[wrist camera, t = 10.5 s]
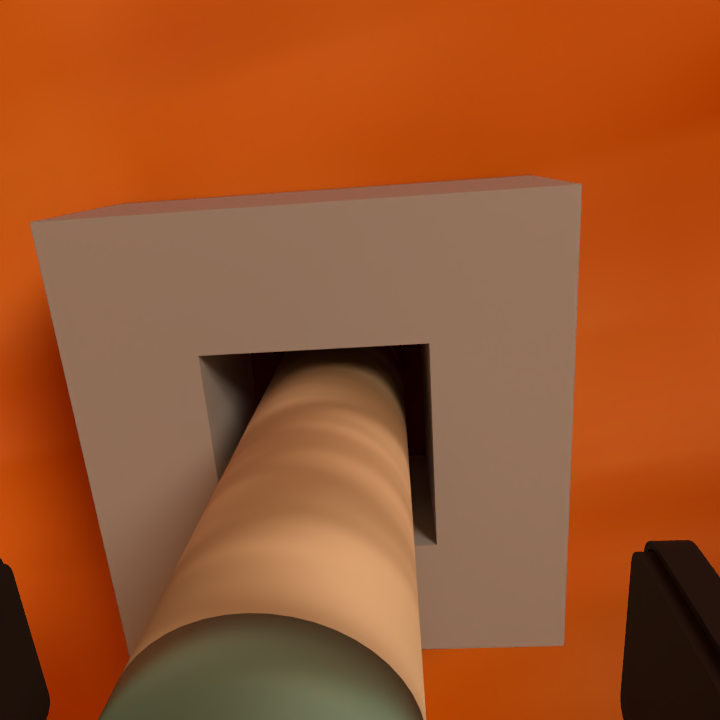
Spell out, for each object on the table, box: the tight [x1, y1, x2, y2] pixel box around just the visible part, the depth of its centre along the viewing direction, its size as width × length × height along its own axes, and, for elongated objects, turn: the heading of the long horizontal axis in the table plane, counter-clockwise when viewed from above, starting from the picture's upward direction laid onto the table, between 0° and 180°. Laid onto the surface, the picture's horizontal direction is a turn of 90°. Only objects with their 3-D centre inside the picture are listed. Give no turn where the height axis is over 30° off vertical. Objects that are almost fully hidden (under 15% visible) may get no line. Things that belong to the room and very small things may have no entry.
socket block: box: [30, 175, 582, 656], centre depth 18 cm, size 12×12×5 cm
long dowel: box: [98, 345, 426, 720], centre depth 14 cm, size 4×4×14 cm
